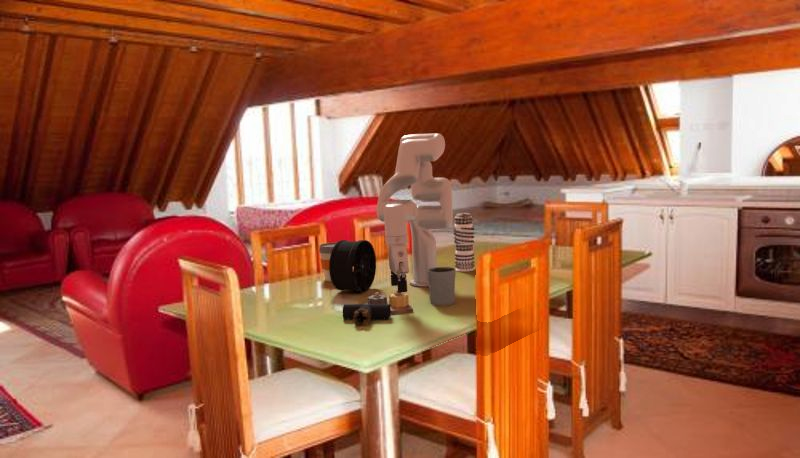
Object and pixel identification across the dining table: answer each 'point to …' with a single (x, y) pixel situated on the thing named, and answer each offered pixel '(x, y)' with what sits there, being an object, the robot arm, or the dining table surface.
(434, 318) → the dining table surface
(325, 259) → the reusable coffee cup
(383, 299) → the board
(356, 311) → the pipe connector
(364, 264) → the car wheel rim
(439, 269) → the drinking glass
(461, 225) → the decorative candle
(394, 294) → the ochre gear
